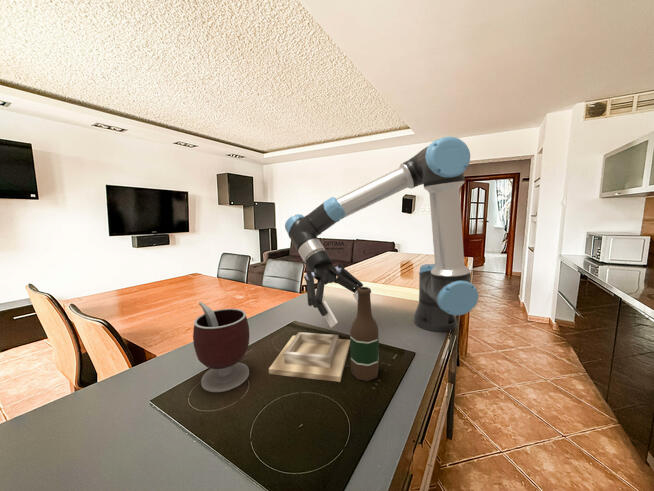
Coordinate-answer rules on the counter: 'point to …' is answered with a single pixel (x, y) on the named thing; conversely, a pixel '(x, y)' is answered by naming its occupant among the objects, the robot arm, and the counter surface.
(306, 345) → the bottle holder
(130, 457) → the counter surface
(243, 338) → the mate gourd
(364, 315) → the beer bottle
